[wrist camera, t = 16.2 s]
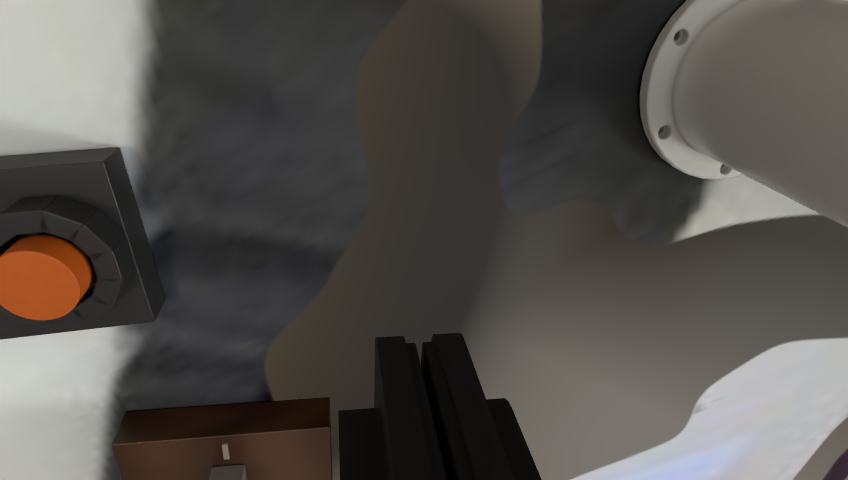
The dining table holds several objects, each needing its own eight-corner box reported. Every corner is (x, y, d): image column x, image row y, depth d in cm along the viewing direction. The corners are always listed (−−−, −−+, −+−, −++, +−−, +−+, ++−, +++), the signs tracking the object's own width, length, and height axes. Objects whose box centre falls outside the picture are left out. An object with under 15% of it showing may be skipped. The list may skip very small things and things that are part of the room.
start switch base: (119, 146, 30) (88, 175, 26) (165, 299, 34) (144, 342, 31) (-145, 167, 28) (-221, 200, 24) (-60, 323, 33) (-112, 373, 29)
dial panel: (329, 396, 40) (329, 429, 37) (333, 498, 45) (333, 533, 42) (125, 411, 38) (109, 446, 35) (152, 516, 43) (140, 554, 40)
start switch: (78, 230, 27) (63, 246, 26) (102, 297, 29) (90, 315, 28) (-8, 238, 27) (-28, 255, 25) (22, 306, 29) (5, 325, 27)
